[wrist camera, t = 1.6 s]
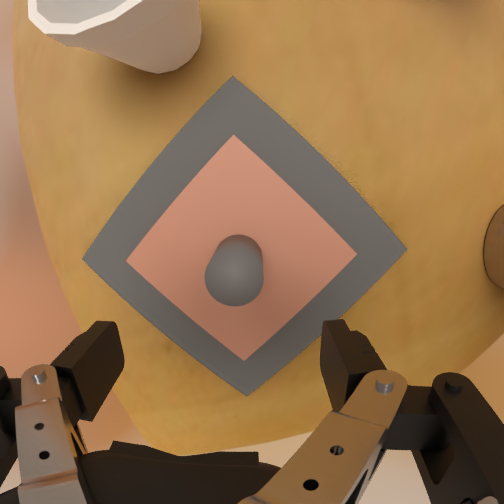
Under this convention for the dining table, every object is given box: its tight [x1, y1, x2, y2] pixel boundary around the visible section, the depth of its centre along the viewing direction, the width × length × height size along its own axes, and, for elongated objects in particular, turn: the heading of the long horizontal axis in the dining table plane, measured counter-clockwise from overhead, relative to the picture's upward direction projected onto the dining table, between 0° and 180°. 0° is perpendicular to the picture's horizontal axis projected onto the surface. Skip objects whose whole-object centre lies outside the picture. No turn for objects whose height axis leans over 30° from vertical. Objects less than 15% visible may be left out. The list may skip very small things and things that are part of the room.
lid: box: [126, 135, 357, 361], centre depth 22 cm, size 13×13×6 cm
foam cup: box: [28, 0, 202, 74], centre depth 15 cm, size 10×9×13 cm
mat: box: [82, 76, 407, 396], centre depth 26 cm, size 20×20×1 cm
